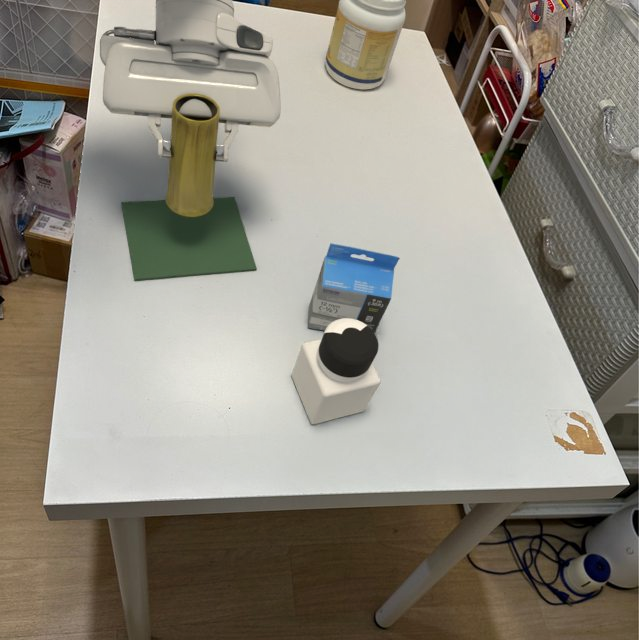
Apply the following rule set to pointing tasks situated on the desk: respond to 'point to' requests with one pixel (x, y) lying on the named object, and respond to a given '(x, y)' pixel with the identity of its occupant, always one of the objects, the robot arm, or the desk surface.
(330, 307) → the label tape box
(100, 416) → the desk surface
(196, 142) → the vase
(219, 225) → the green mat
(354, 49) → the supplement tub
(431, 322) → the desk surface
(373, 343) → the medicine bottle
